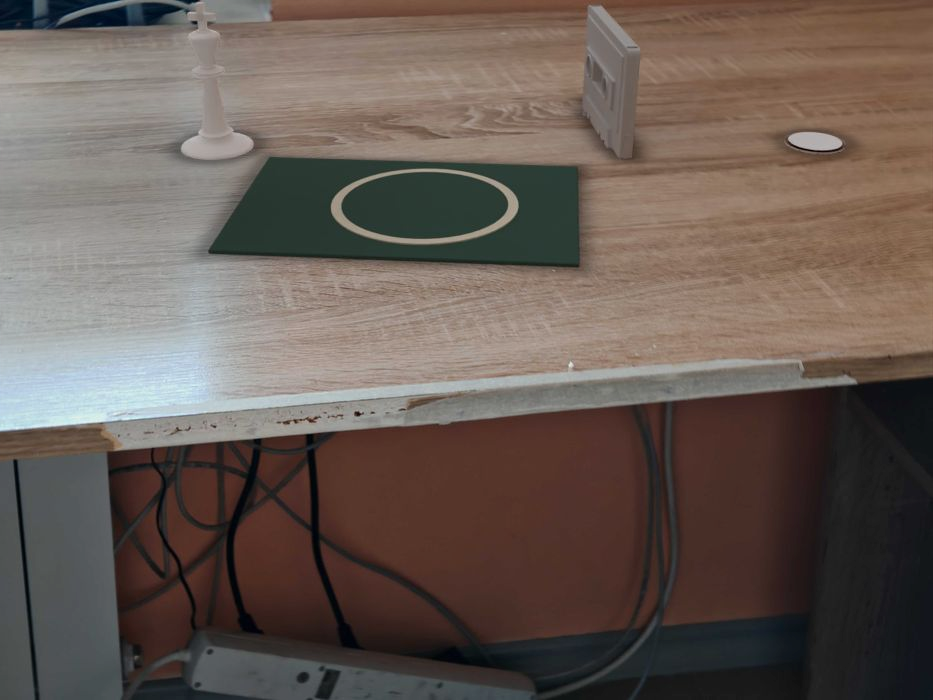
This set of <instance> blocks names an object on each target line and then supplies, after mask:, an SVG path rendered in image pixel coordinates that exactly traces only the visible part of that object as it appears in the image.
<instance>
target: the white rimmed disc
mask: <svg viewBox="0 0 933 700" xmlns="http://www.w3.org/2000/svg"><path fill="white" fill-rule="evenodd" d="M786 138H787V140H788V142H790V144H791V145H794V146H796V147H799V148H802V149H799V148H796V147H794V146H791V145H790V144H788V143H787V141H786ZM783 141H784V145H785V146H787V147H788V148H790V149H792V150H794V151H798V152H801V153H806V154H811V155H833V154H839V153H842V152H843V151H844V150H846V147H847V143H846V141H844V140H843V139H842V138H840V137H837V136H836V135H833V134H829V133H824V132H818V131H817V132H816V131H799V132H792V133H789V134H787V135H786V136H785V137H784V140H783ZM843 145H844V147H843V148H842V149H840V150H836V149H839V148H841V147H842V146H843ZM804 149H807V150H804ZM808 150H813V151H808ZM833 150H836V151H833ZM817 151H830V152H817Z"/></svg>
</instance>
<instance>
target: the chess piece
mask: <svg viewBox="0 0 933 700" xmlns="http://www.w3.org/2000/svg"><path fill="white" fill-rule="evenodd" d="M194 5H195V11H188V12H187V13H186V17H187V18H186V19H187V21H189V22H190V21H191V22H197V29H195V30H193V31H191V32H189V33H188V35H187V40H188V43H189V45H190V46H191V48H192V50H193V52H194V55H195V58H196V59H197V62H198V63H199V64H198V66H196V67H194V68H192V70H191V71H192V72H191V76H192V77H193V78H195V79H201V86H202V87H201V93H202V122H201V123H202V125H201V129H199V130H198V131H197V133H198V135H195V136H192V137H190V138H188V139H187V140H185V141H184V142H183V143H182V144H181V147H180V151H181V153H182V154H183V155H184V156H185V157H188V158H192V159H195V160H201V161H202V160H203V161H204V160H205V161H218V160H219V161H220V160H226V159H227V160H228V159H233V158H237V157H240V156H242V155H245V154H248V153H249V152H250V151H252V150H253V148H254V146H255V143H254V140H253V139H252V138H251V137H249V136H248V135H245V134H242V133H239V132H235V131H234V128H233V127H232V126H229V123H228V121H227V117H226V113H225V109H224V105H223V102H222V101H223V100H222V97H221V92H220V88H219V83H218V78H221V77H223V76H224V75H226V71H225V68H224V67H223V66H221V65H218V64H217V63H216V60H217V56H218V50H219V45H220V40H221V34H220V32H218V31H217V30H214V29H210V28H208V22H215V21H216V20H217V16H216V12H209V11H208V12H207V11H206V4H205V2H204V1H196V2H195V3H194Z"/></svg>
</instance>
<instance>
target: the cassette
mask: <svg viewBox="0 0 933 700" xmlns="http://www.w3.org/2000/svg"><path fill="white" fill-rule="evenodd" d="M586 16H587V19H586V36H585V53H584V67H583V68H584V69H583V86H582V87H583V88H582V101H581V102H582V103H581V107H582V111H583V112H582V117H587V119H588V120H589V122H590V124H591V125H592V127H593V128H594V129H595V131H596V133H597V135H598V136H600V137H599V138H600V139H601V141H602V142H603V144H604V146H605V147H606V148H607V149H612V150H613V151H614V153H615V155H616V156H617V158H618V159H620V160H621V159H622V160H628V159H632V158H633V150H634V149H633V147H634V138H635V137H634V135H635V124H636V113H637V100H638V92H639V91H638V90H639V80H640V79H639V77H640V65H641V54H642V52H641V48H640V46H638V44H637V43H636V42H635V41H634V40H633V39H632V38H631V36H629V34H628V33H627V32H626V31H625V30H624V29H623V28H622V27H621V26H620V25H619V23H618V22H617V21H616V20H615V19H614V18H613V17H612V15H611V14H609V12H608V11H607V10H606V9H605V8H604V7H603V5H602V4H589V5H587V15H586Z"/></svg>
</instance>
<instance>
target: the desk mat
mask: <svg viewBox="0 0 933 700" xmlns="http://www.w3.org/2000/svg"><path fill="white" fill-rule="evenodd" d="M579 213H580V211H579V168H578V166H575V165H548V164H547V165H544V164H543V165H542V164H513V163H511V164H509V163H481V162H480V163H479V162H477V163H476V162H452V161H451V162H447V161H446V162H445V161H444V162H443V161H418V160H417V161H416V160H412V161H411V160H385V159H383V160H380V159H351V158H348V159H347V158H323V157H322V158H318V157H315V158H314V157H289V156H288V157H285V156H269V157H268V158H267V160H266V162H265V163H264V164H263V166H262V167H261V169H260V170H259V172H258V174H257V175H256V177H255V179H254V180H253V181H252V183H251V184H250V186H249V188H248V189H247V190H246V192H245V193H244V195H243V197H242V198H241V200H240V201H239V202H238V204H237V206H235V209H234V210H233V212H232V213H231V215H230V217H229V218H228V219H227V220H226V222H225V224H224V226H223V227H222V228H221V230H220V232H219V233H218V234H217V236H216V238H215V239H214V240H213V243H212V244H211V245H210V247H209V248H208V251H207V252H208V254H210V255H234V256H236V255H237V256H261V257H262V256H264V257H289V258H290V257H291V258H316V259H318V258H319V259H320V258H321V259H340V260H341V259H344V260H366V261H367V260H368V261H369V260H370V261H371V260H372V261H396V262H397V261H398V262H422V263H423V262H424V263H448V264H473V265H474V264H475V265H476V264H478V265H501V266H502V265H503V266H504V265H505V266H530V267H531V266H532V267H554V268H555V267H556V268H557V267H558V268H580V221H579V219H580V217H579V216H580V215H579Z"/></svg>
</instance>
